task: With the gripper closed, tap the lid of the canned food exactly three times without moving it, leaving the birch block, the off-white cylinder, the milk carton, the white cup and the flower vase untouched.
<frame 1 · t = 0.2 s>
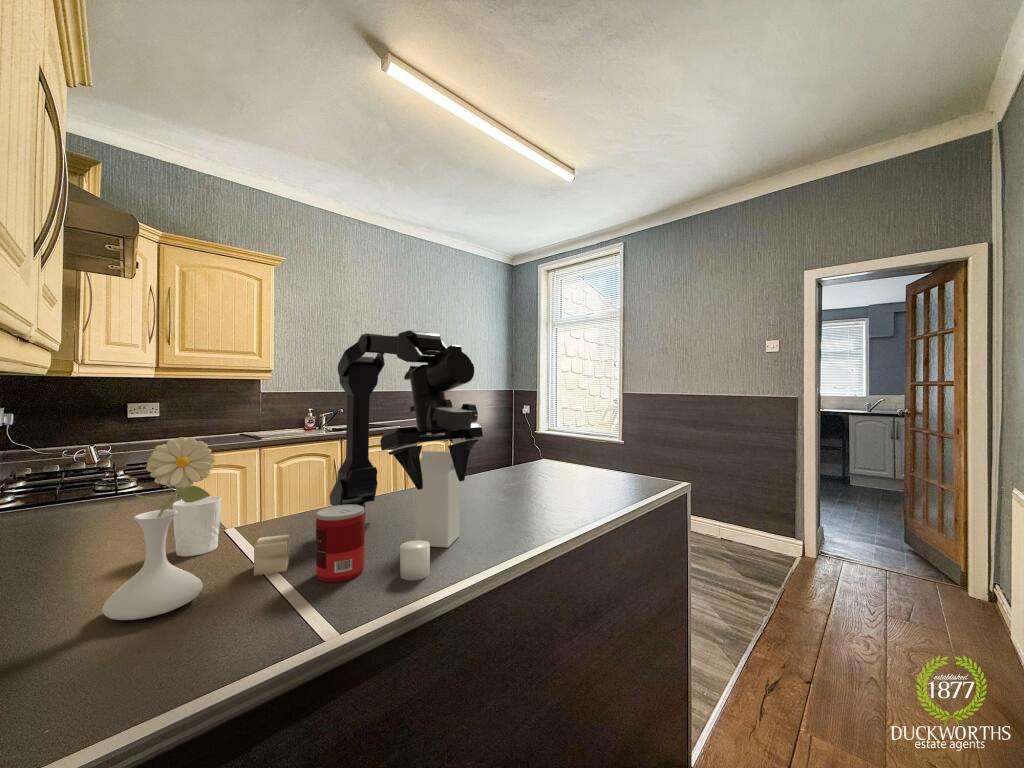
hand: (442, 485, 75), 15 cm above the counter, tool pointing down, fingers open, 9 cm apart
milk carton: (438, 542, 91), on the counter
birch block: (272, 568, 77), on the counter
flower in vase: (162, 608, 63), on the counter
canned food: (340, 574, 75), on the counter
white cup: (197, 551, 86), on the counter
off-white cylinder: (415, 574, 74), on the counter
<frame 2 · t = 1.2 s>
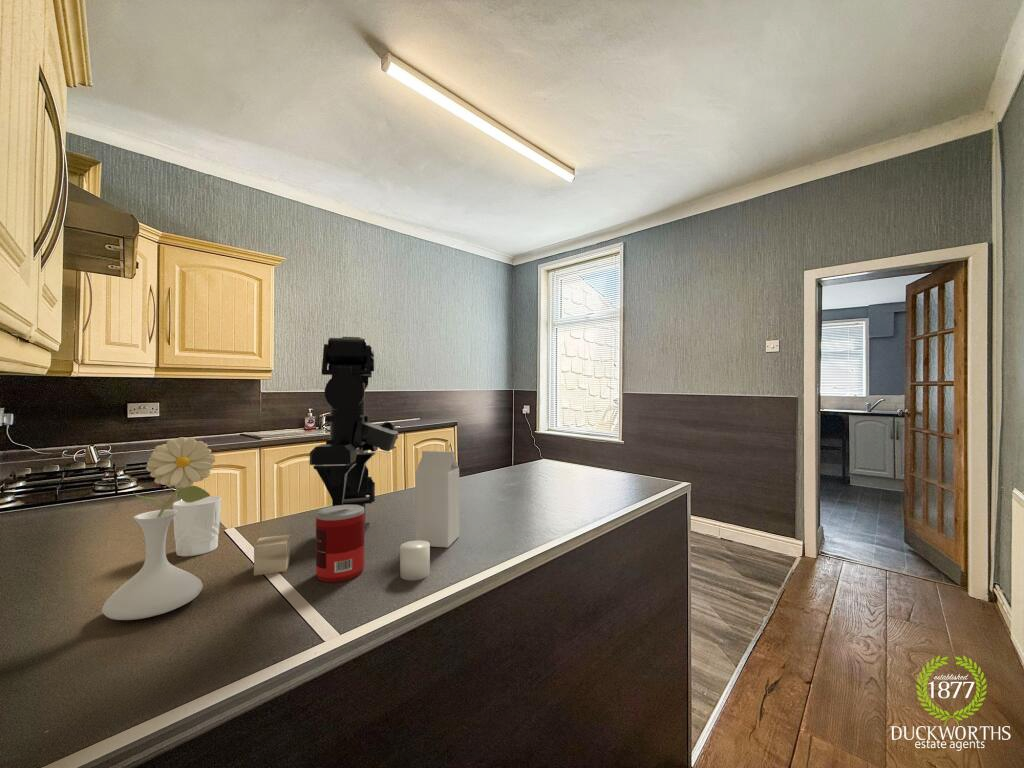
hand: (347, 498, 75), 13 cm above the counter, tool pointing down, fingers open, 9 cm apart
nothing on the counter moved.
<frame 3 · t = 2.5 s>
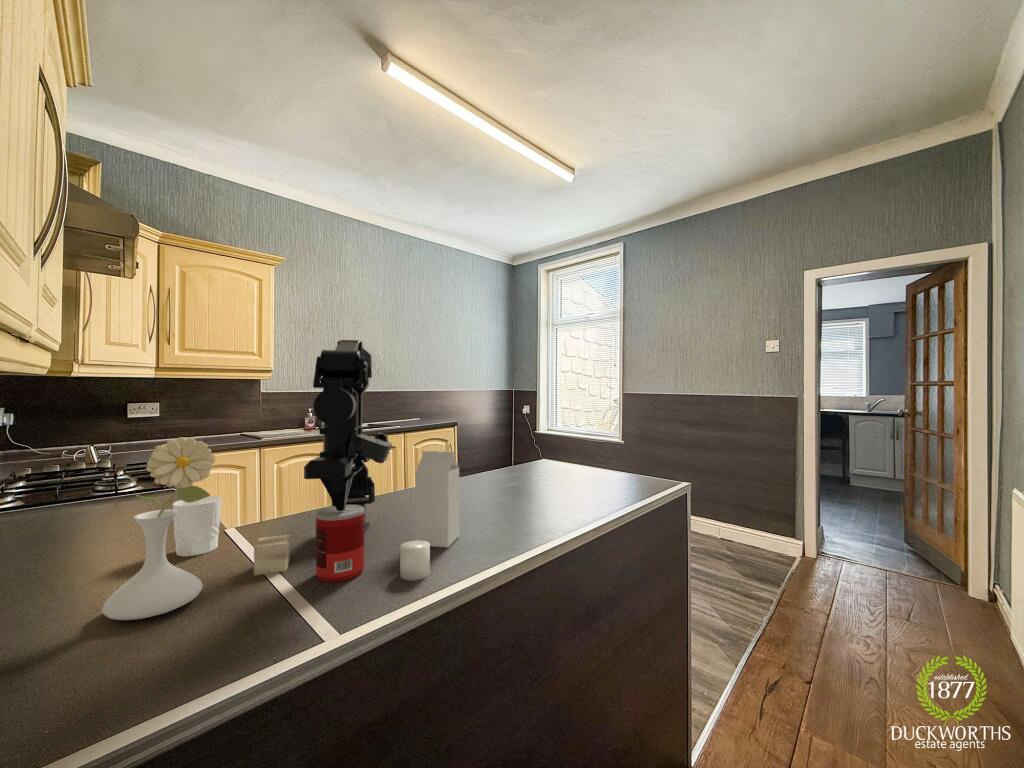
hand: (340, 510, 75), 11 cm above the counter, tool pointing down, fingers closed, pressing on canned food
canned food: (340, 574, 75), on the counter, touching gripper
everything else where it was.
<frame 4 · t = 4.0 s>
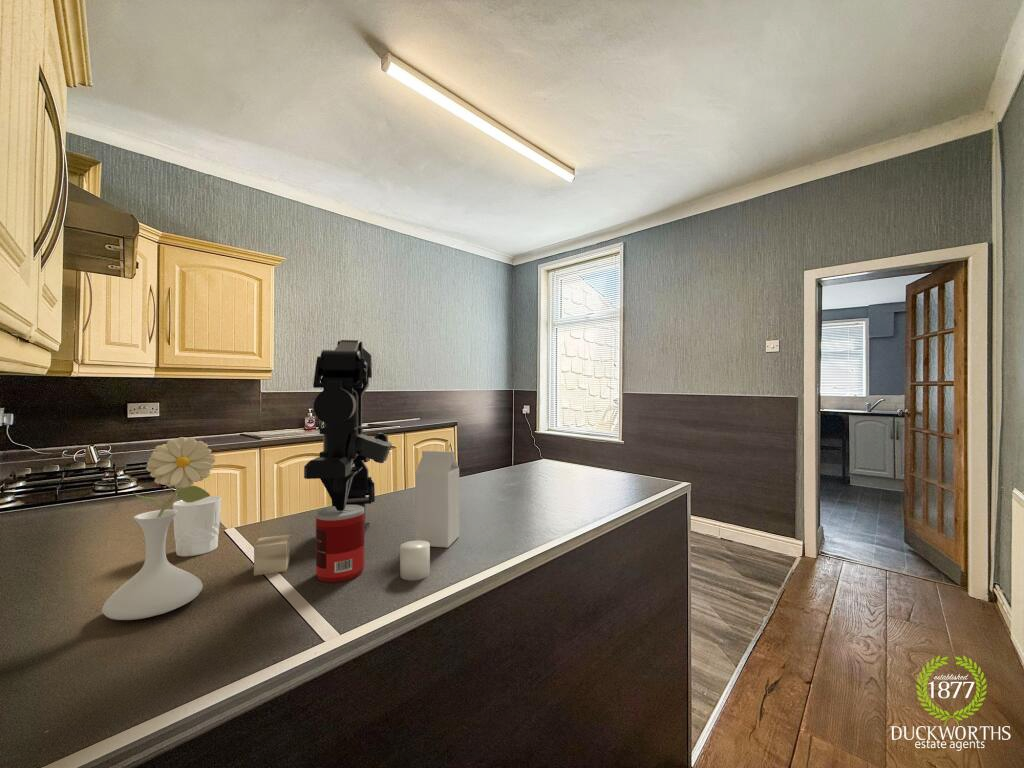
hand: (340, 510, 75), 11 cm above the counter, tool pointing down, fingers closed, pressing on canned food
canned food: (340, 574, 75), on the counter, touching gripper
everything else where it was.
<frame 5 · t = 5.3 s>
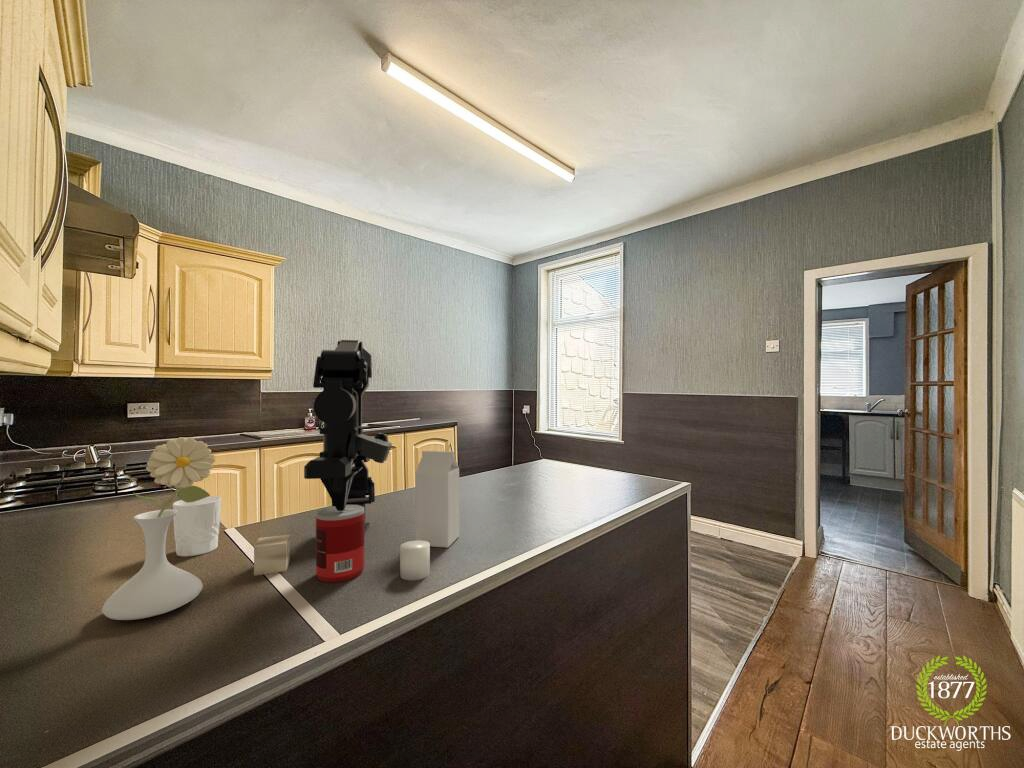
hand: (340, 510, 75), 11 cm above the counter, tool pointing down, fingers closed, pressing on canned food
canned food: (340, 574, 75), on the counter, touching gripper
everything else where it was.
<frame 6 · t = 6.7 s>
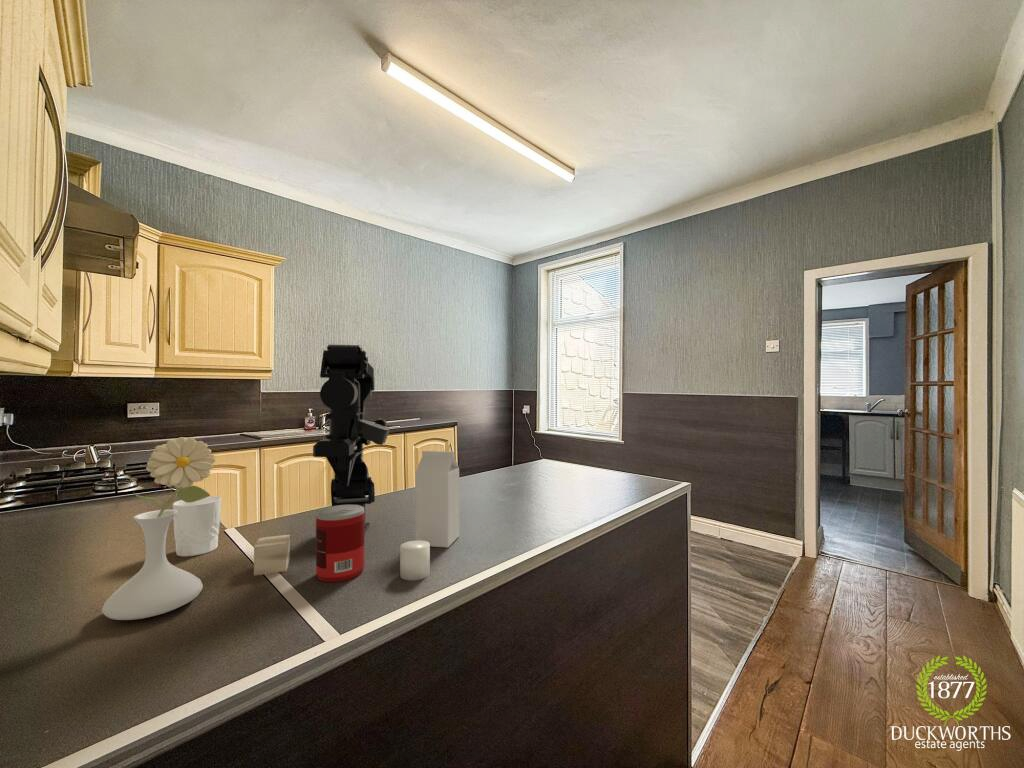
hand: (344, 486, 85), 13 cm above the counter, tool pointing down, fingers closed
canned food: (340, 574, 75), on the counter
everything else where it was.
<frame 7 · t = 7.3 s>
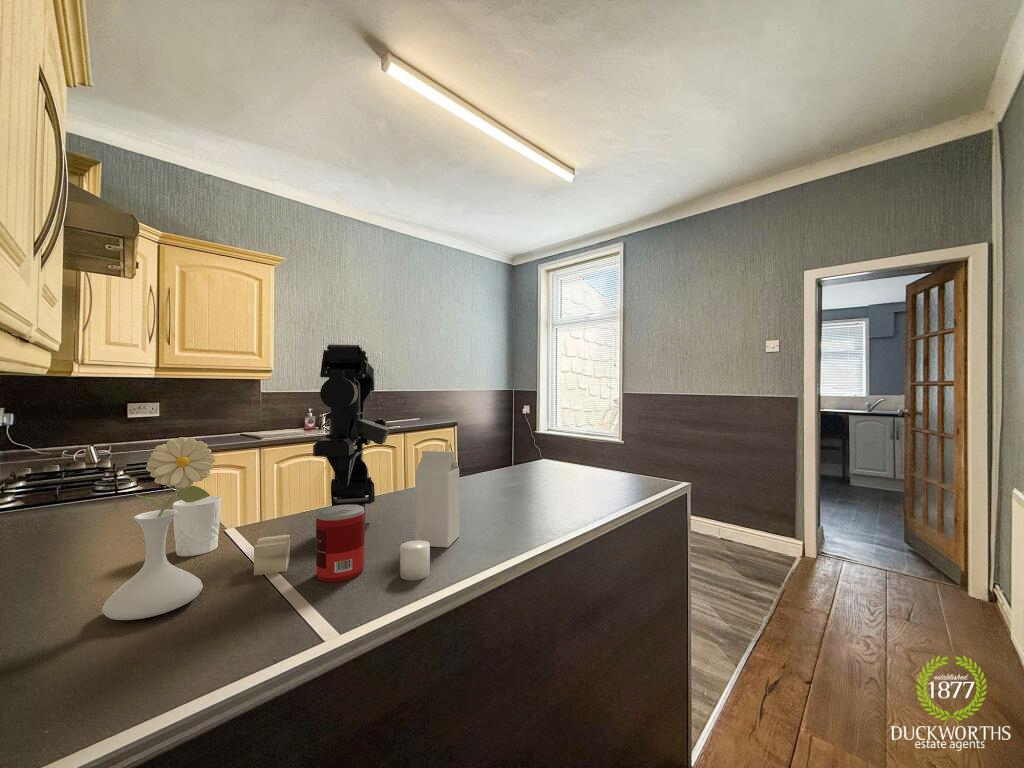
hand: (344, 486, 85), 13 cm above the counter, tool pointing down, fingers closed
nothing on the counter moved.
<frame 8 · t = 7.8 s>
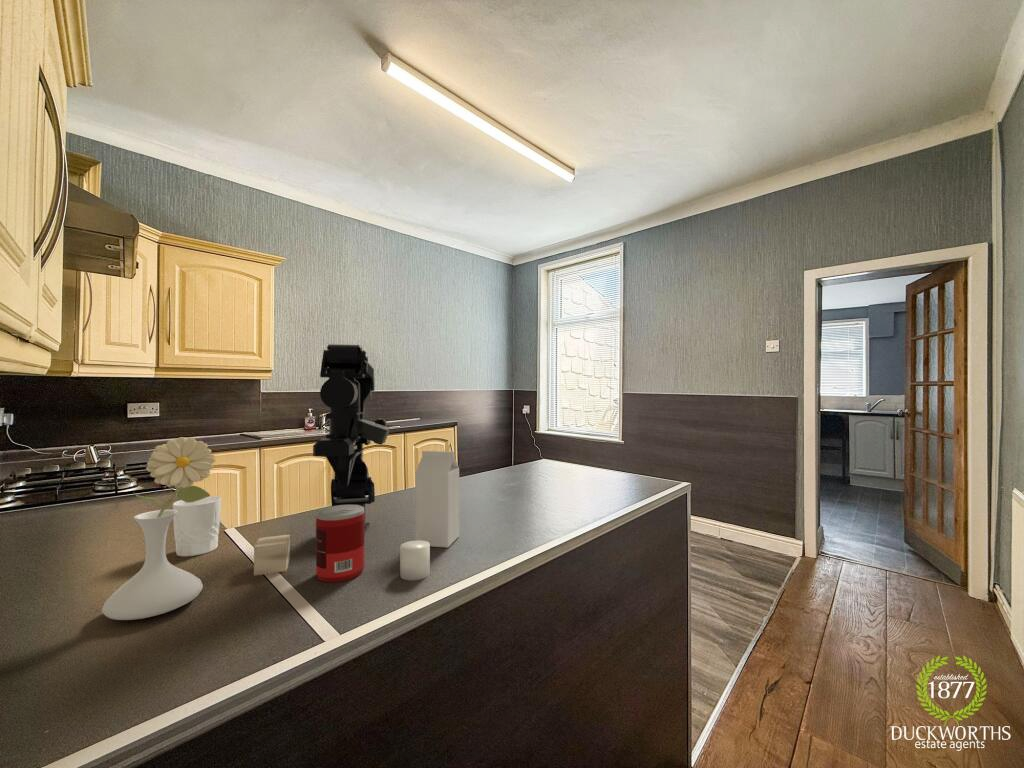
hand: (344, 486, 85), 13 cm above the counter, tool pointing down, fingers closed
nothing on the counter moved.
at the end: canned food moved 0.2 cm from its start; canned food tilted 0°; the gripper is holding nothing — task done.
